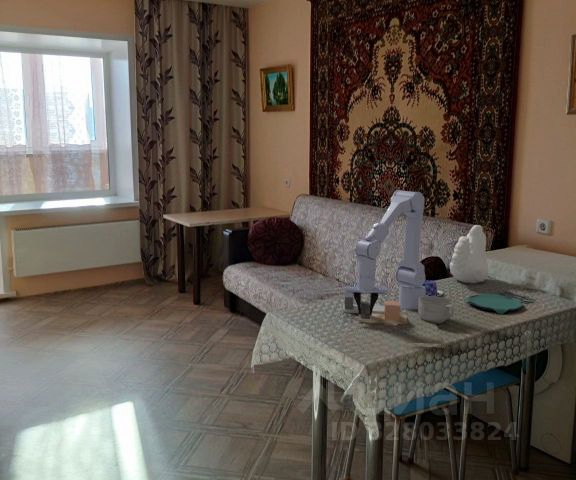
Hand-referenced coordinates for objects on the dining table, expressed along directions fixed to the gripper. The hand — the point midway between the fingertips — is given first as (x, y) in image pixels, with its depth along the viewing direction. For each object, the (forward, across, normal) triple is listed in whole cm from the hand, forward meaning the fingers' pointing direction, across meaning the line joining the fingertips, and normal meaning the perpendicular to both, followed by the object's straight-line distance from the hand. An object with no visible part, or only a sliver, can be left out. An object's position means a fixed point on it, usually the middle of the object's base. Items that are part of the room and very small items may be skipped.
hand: (365, 314), depth 198 cm
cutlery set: (+4, +53, +29) cm, 61 cm away
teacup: (+3, +24, +3) cm, 25 cm away
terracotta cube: (+1, +9, 0) cm, 9 cm away
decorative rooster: (+3, +45, +60) cm, 75 cm away
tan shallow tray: (+2, +6, 0) cm, 6 cm away
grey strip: (+2, 0, +10) cm, 10 cm away
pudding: (+3, +26, +40) cm, 48 cm away
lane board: (+3, +2, +5) cm, 6 cm away
